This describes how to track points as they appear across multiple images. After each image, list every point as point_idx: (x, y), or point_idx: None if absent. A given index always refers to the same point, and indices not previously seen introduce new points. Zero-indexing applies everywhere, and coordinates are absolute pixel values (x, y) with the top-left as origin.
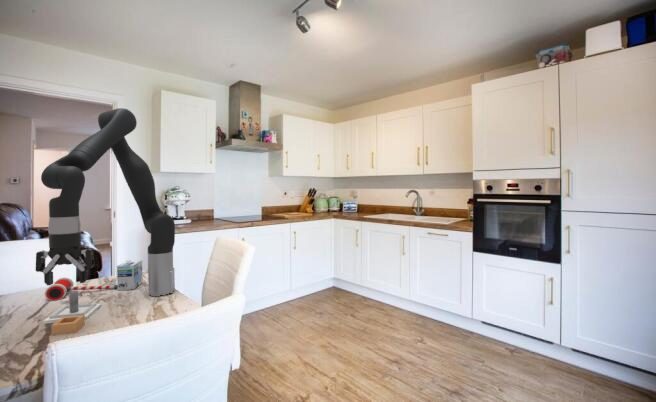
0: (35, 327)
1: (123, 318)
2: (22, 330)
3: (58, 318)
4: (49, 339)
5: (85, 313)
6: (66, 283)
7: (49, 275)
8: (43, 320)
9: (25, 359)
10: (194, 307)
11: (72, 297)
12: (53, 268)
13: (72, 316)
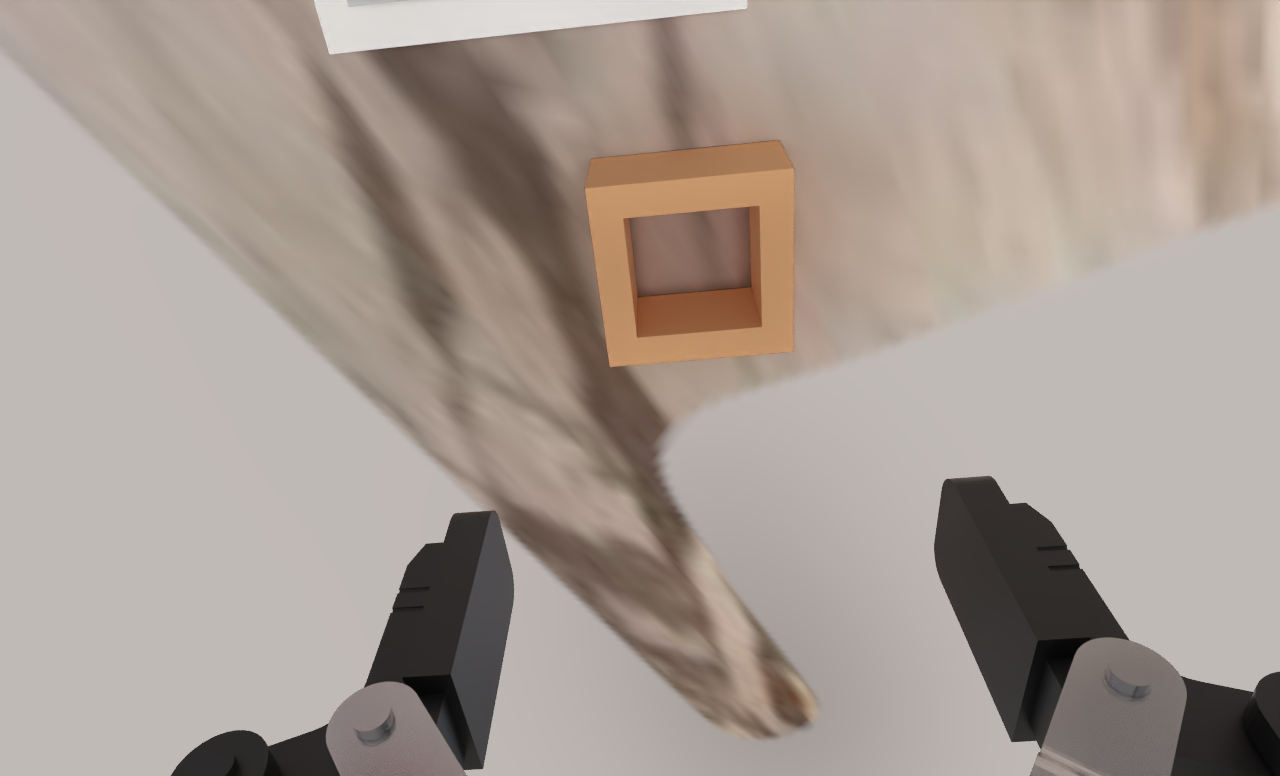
0: (337, 130)
1: (1131, 49)
2: (274, 181)
3: (453, 9)
4: (642, 389)
5: None
6: None
7: (485, 717)
8: (327, 45)
9: (667, 592)
10: None
11: None
12: (438, 731)
13: (684, 187)
